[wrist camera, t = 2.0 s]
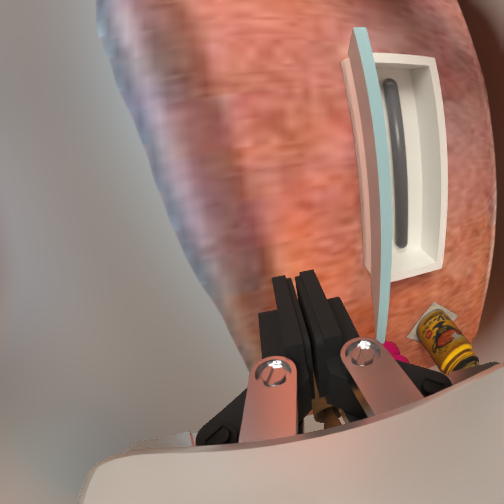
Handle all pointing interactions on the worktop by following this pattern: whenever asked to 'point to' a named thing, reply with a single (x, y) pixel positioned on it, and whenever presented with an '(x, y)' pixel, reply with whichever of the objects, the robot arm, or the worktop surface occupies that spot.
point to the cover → (374, 173)
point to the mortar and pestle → (325, 411)
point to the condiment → (444, 340)
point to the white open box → (407, 161)
